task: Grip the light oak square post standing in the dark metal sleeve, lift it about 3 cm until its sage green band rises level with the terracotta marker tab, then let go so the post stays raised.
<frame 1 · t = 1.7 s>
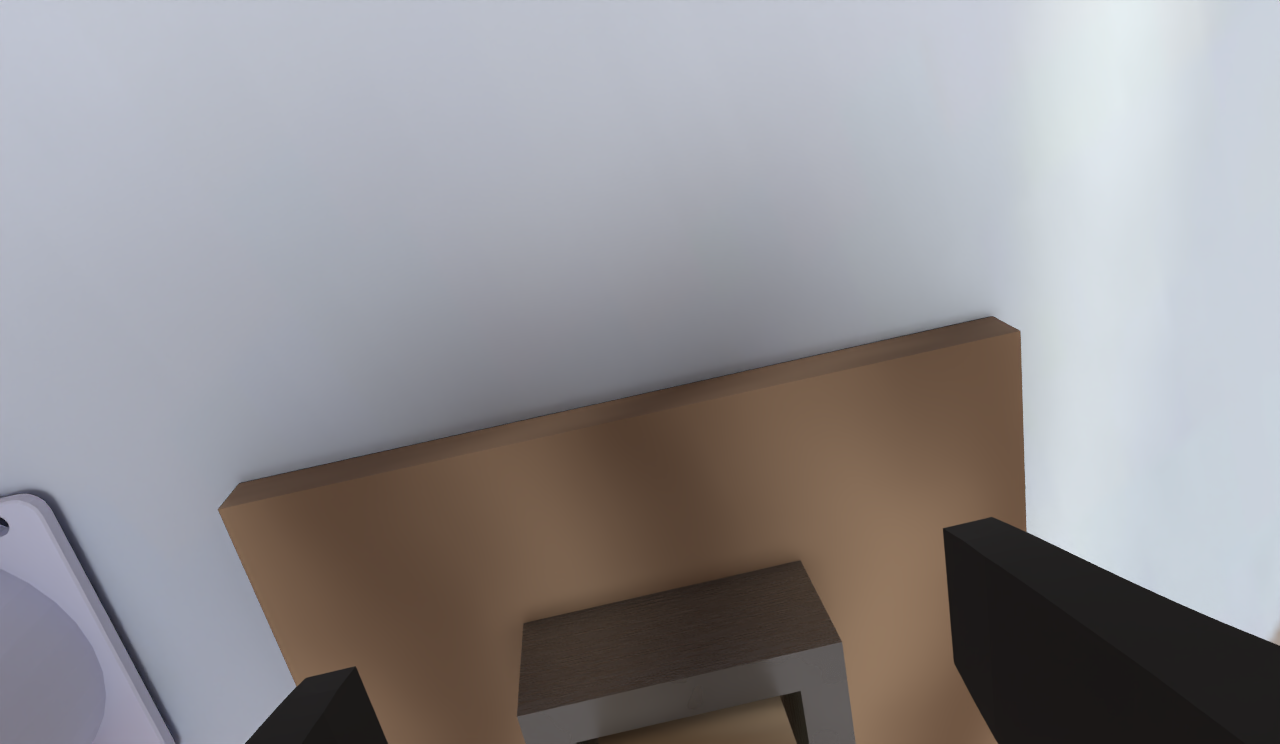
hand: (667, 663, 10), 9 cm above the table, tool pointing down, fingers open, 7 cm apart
board: (680, 668, 21), on the table
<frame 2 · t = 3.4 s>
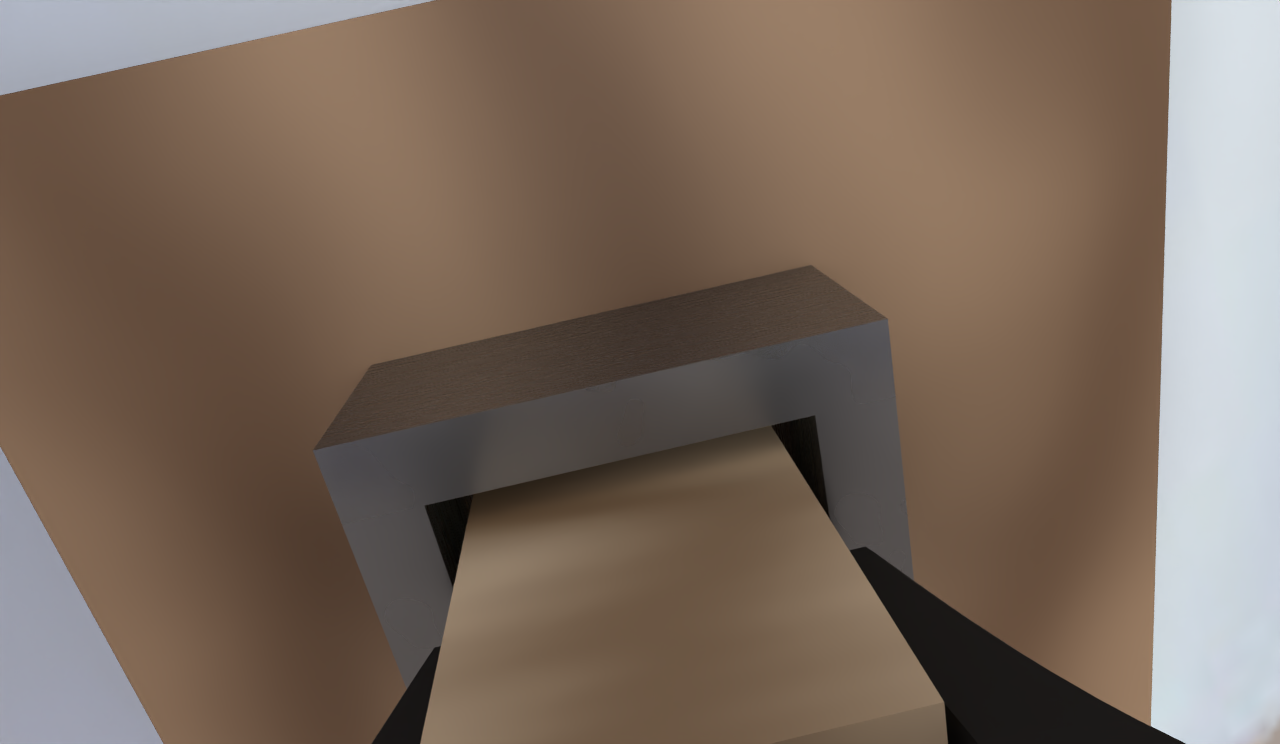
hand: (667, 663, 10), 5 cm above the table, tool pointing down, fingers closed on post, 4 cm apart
board: (631, 474, 14), on the table
post: (666, 657, 10), point 5 cm above the table, slide at 0.0 cm, touching gripper
sleeve: (650, 571, 12), on the board, point 3 cm above the table
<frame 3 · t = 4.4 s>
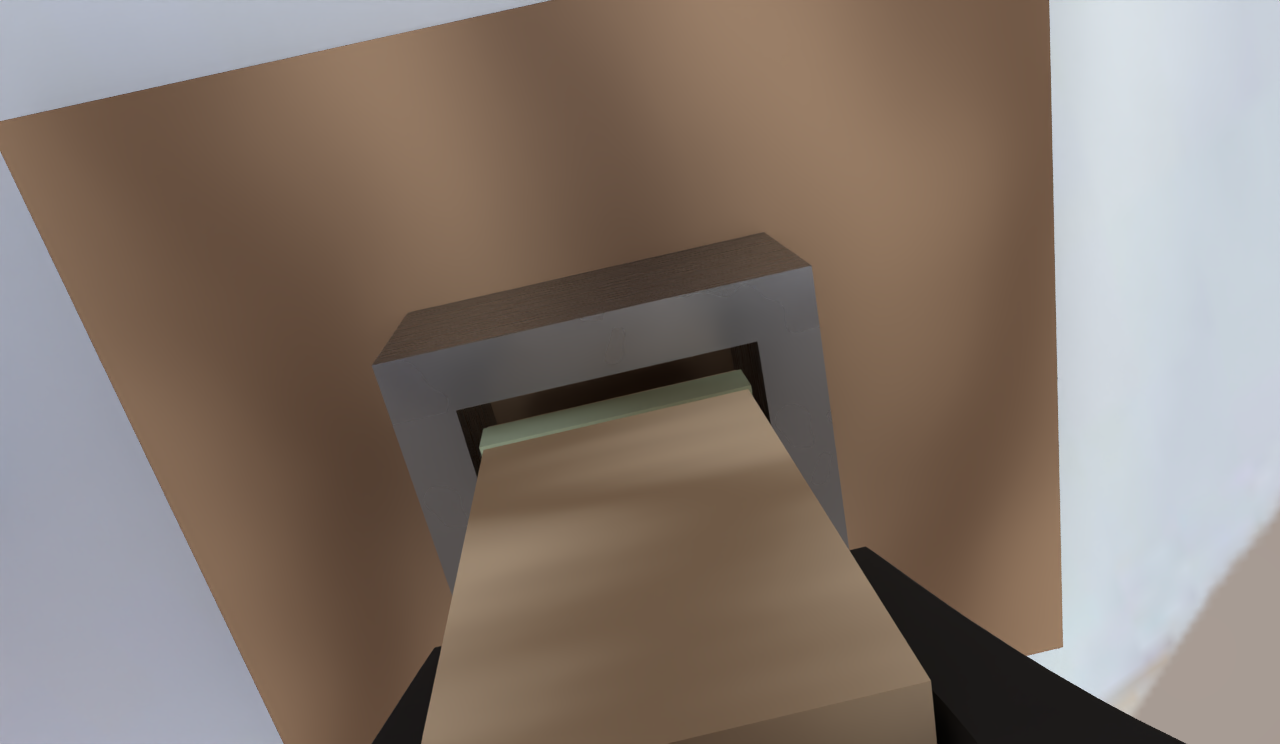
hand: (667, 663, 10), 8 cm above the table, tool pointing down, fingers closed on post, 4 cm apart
board: (620, 411, 17), on the table
post: (664, 645, 10), point 8 cm above the table, slide at 2.8 cm, touching gripper
sleeve: (633, 479, 15), on the board, point 3 cm above the table
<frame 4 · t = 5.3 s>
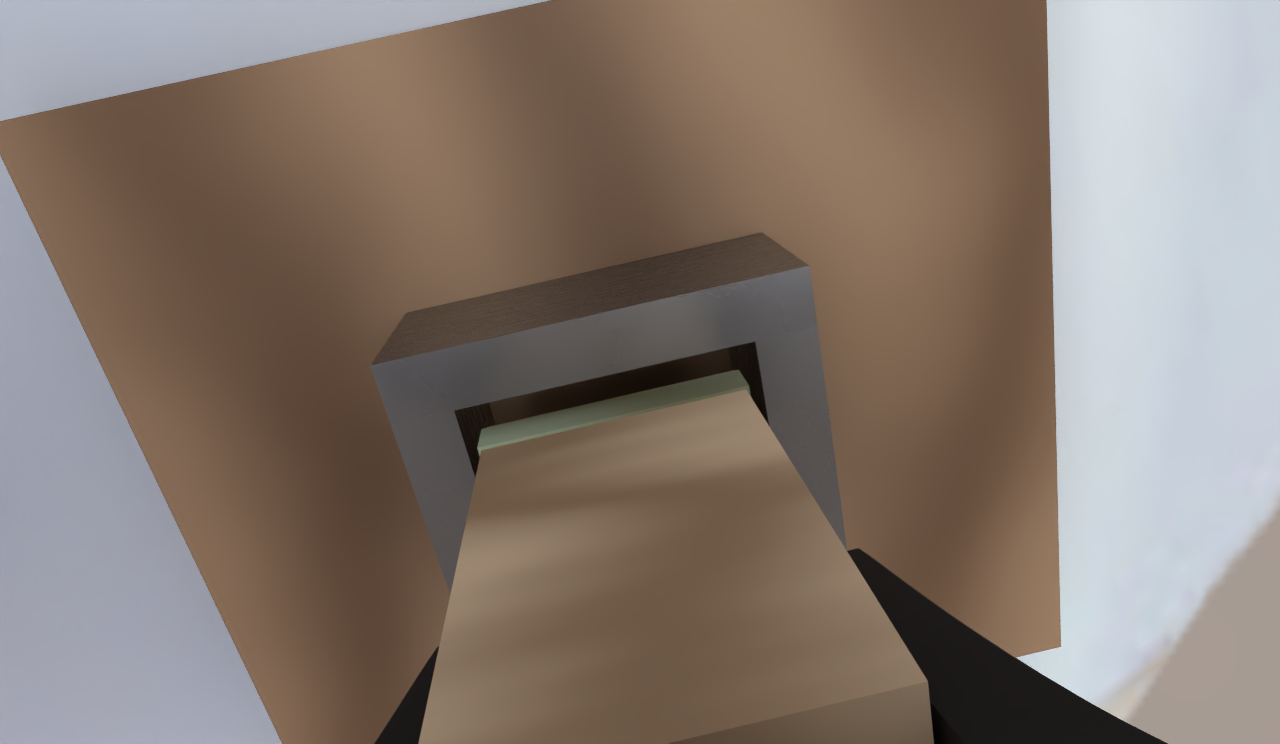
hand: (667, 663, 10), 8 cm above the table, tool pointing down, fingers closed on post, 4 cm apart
board: (618, 411, 17), on the table
post: (662, 646, 10), point 8 cm above the table, slide at 2.8 cm, touching gripper
sleeve: (632, 479, 15), on the board, point 3 cm above the table
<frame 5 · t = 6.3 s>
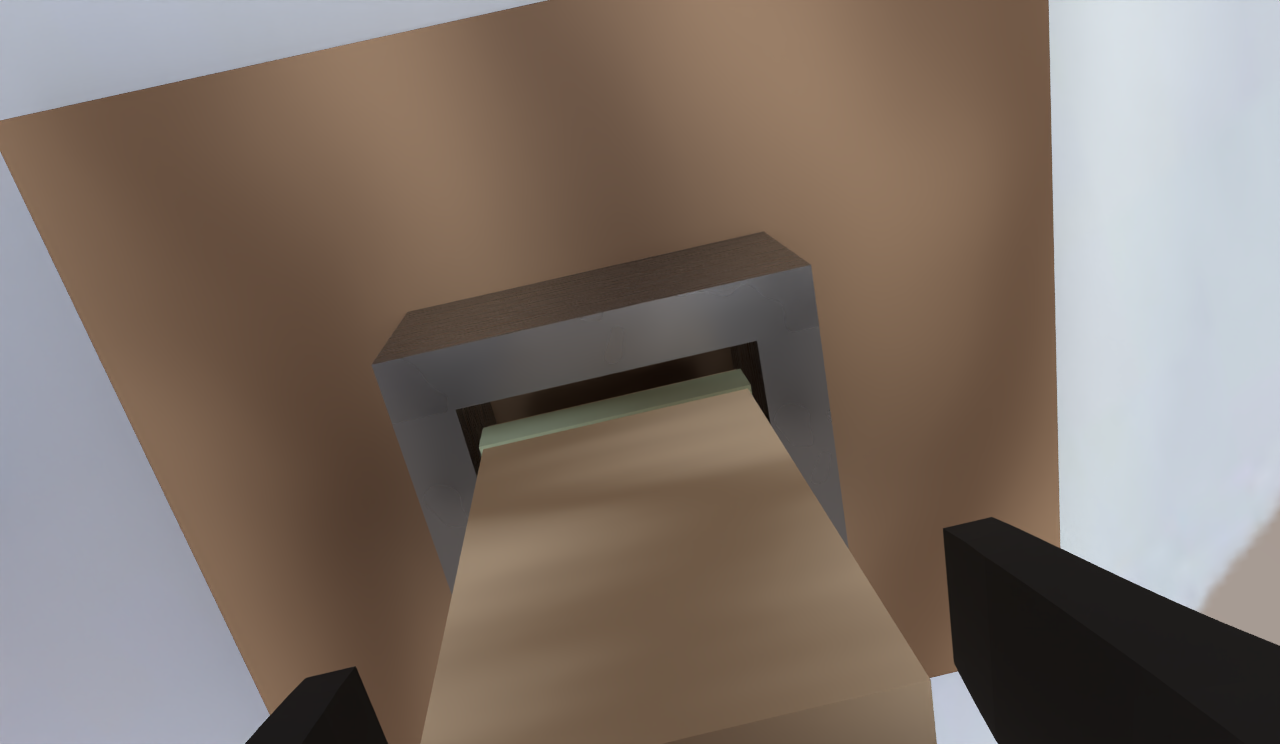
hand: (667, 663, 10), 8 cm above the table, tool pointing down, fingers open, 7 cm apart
board: (620, 410, 17), on the table
post: (664, 645, 10), point 8 cm above the table, slide at 2.8 cm
sleeve: (633, 478, 15), on the board, point 3 cm above the table
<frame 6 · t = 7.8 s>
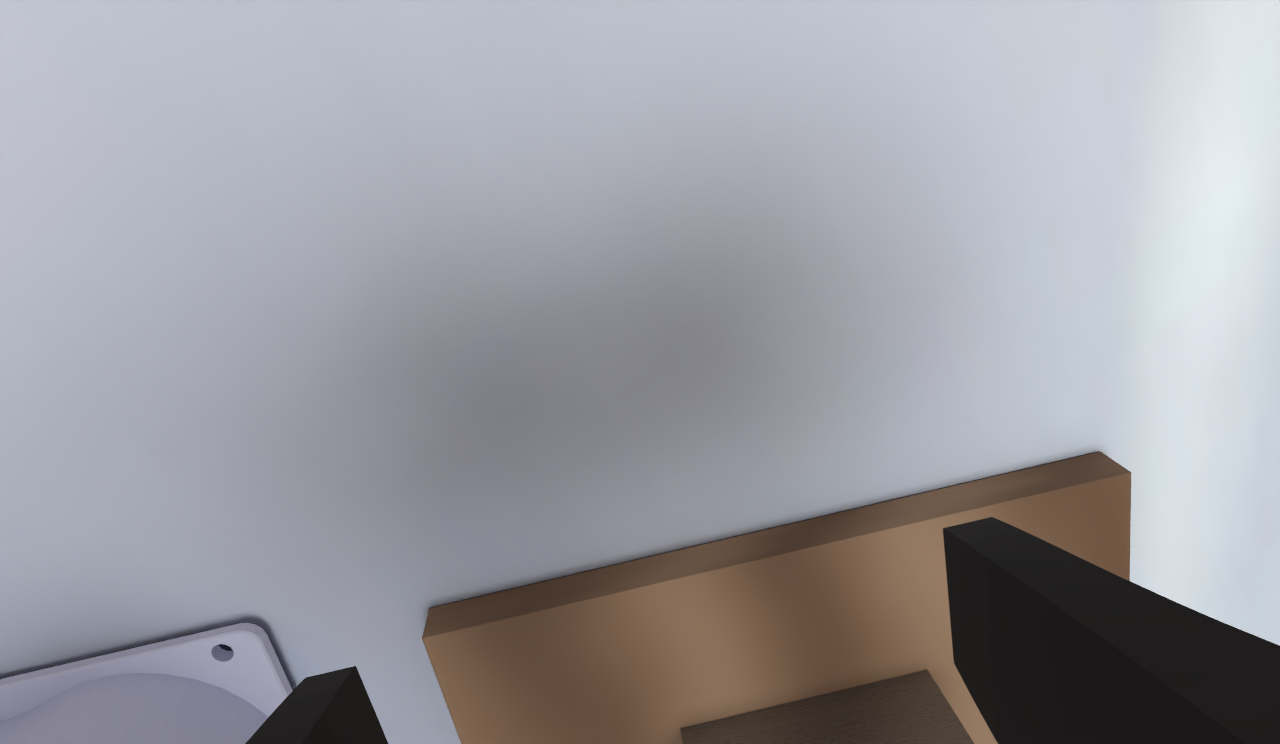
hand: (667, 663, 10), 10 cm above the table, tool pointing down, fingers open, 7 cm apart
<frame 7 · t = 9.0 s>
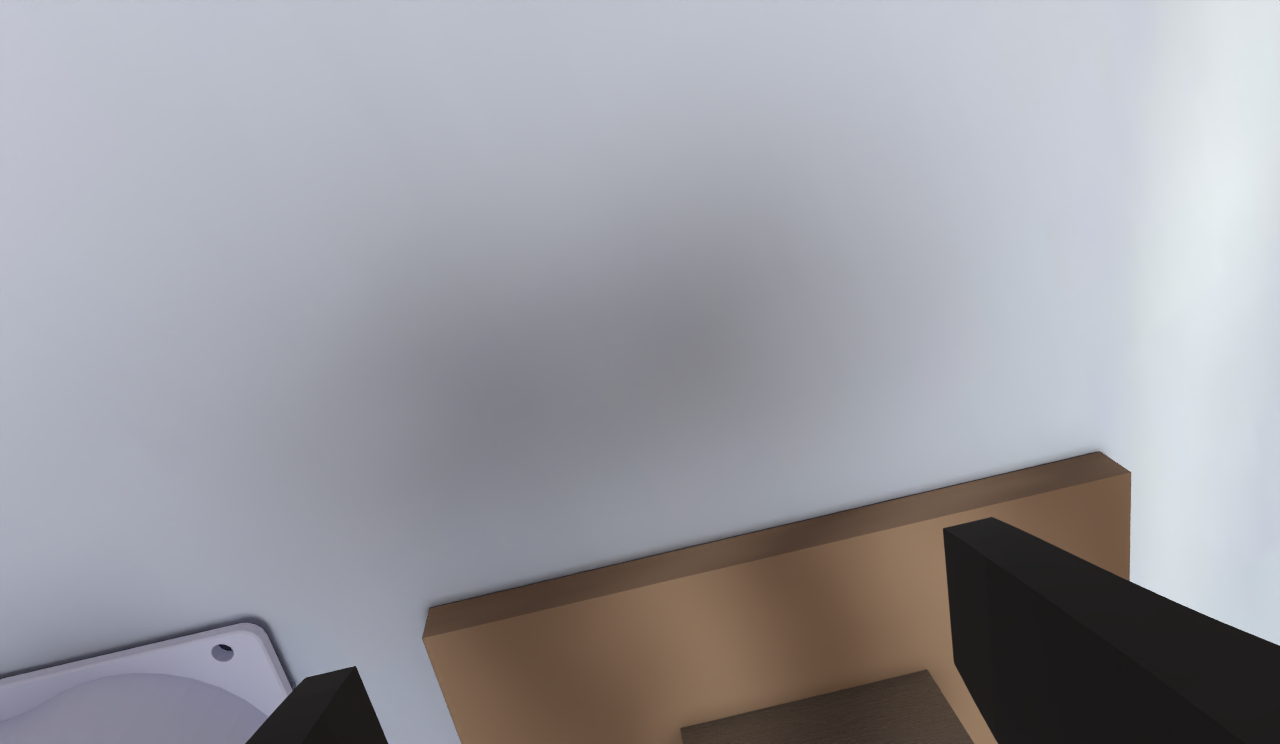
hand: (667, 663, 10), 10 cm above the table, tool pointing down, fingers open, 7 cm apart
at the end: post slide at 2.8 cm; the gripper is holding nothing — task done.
